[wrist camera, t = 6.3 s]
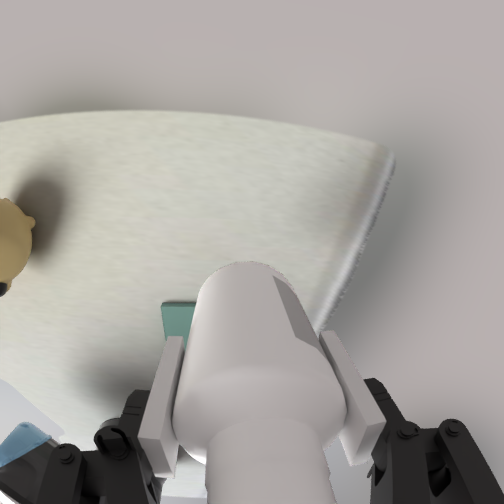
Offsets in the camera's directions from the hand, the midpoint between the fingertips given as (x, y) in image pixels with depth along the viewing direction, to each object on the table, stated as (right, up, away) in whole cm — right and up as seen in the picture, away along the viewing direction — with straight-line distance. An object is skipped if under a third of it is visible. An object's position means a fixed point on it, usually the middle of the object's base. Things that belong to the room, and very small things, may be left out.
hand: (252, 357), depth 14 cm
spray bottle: (0, +2, +6) cm, 6 cm away
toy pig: (-32, +8, +17) cm, 37 cm away
